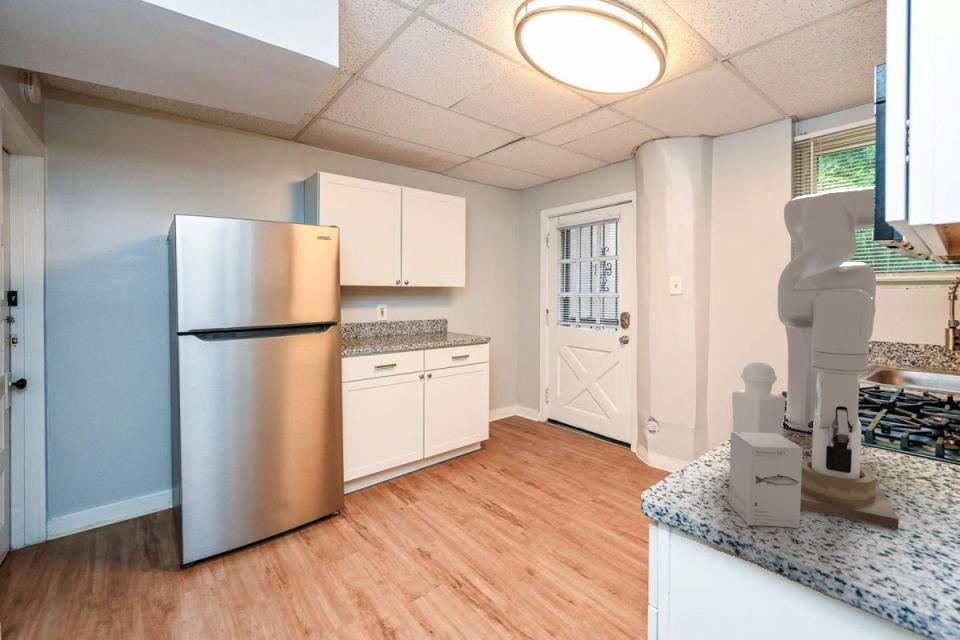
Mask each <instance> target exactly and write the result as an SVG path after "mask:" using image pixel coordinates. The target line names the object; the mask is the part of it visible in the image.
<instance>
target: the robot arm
mask: <svg viewBox="0 0 960 640" xmlns="http://www.w3.org/2000/svg"><path fill="white" fill-rule="evenodd" d="M874 187H875V186H868V187H859V188H850V189H840V190H832V191H825V192H821V193H816V194H810V195H809V194H808V195H803V196H798V197H795V198H792V199H790V200H789V201H787V202H786V204H785V205H784V209H783V218H784V219H783V220H784V224H785V227H786V230H787V232H788V234H789V237H790V239H791V242H792V244H793V248H794V250H793V251H794V253H793V254H794V255H793V258H792V260H790V261H788V264H786V266H785V267H784V268H783V270H782V271H781V274H780V276H779V279H778V283H777V314H778V319H779V321H780V322H781V324H783V325H784V326H785V333H786V341H787V342H786V343H787V377H786V378H787V381H786V382H787V384H786V386H787V387H786V418H787V419H788V422H785V423H786V424H787V425H788V426H789V427H788V428H790V427H791V428H790V429H794V430H797V431H798V430H799V431H802V432H808V431H809V433H813V432H812V431H813V428H809V427H808V423H809V422H811V421H813V419H814V417H815V415H817V425H818V426H819V427H820V428H821V429H824V428H829V430H828V431H829V446H827V450H826V468H827V469H828V470H832V471H839V472H845V473H850V472H851V457H852V449H851V433H853V432H855V431H856V429H857V419H859V400H860V399H859V394H860V392H859V391H860V375H866V374H869V351H870V349H869V348H870V340H871V338H872V336H873V331H874V323H875V322H874V321H875V315H876V294H877V293H876V292H877V278H876V272H875V269H874V268H873V267H872V266H871V265H870V264H868V263H866V262H858V261H857V262H849V261H850V260H852V258H854V257H855V255H856V254H857V251H858V242H857V237H856V236H857V235H856V230H868V229H869V230H871V229H874V228H873V221H874ZM832 425H837V429H834V428H832ZM850 425H853V426H852V428H850ZM810 430H812V431H810ZM850 430H851V431H850ZM833 433H837V435H835V436H833Z"/></svg>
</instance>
